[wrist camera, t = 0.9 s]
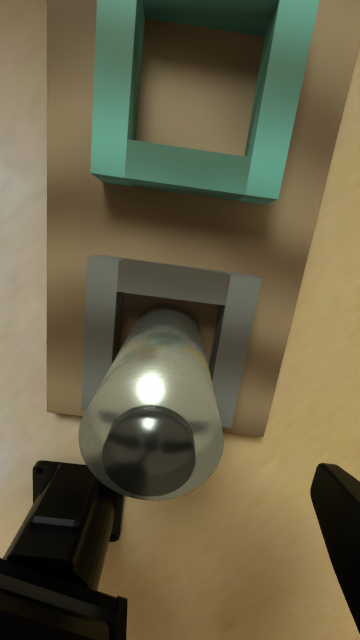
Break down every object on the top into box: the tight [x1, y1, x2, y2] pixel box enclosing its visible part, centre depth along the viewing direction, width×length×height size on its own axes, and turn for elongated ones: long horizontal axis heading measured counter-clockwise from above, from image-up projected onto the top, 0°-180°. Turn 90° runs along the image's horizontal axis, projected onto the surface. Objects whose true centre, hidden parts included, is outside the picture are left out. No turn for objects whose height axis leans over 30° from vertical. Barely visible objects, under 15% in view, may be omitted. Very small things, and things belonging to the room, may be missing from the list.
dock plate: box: [47, 0, 360, 437], centre depth 14 cm, size 24×14×3 cm, turn 173°
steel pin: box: [79, 304, 224, 500], centre depth 12 cm, size 4×4×10 cm
